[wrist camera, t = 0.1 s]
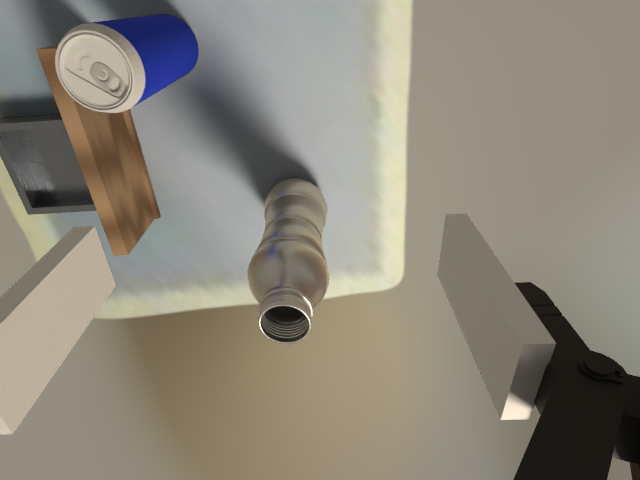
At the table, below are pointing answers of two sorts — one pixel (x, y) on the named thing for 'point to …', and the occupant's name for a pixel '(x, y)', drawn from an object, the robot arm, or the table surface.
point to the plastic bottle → (290, 261)
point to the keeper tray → (43, 165)
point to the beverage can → (124, 60)
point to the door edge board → (107, 164)
